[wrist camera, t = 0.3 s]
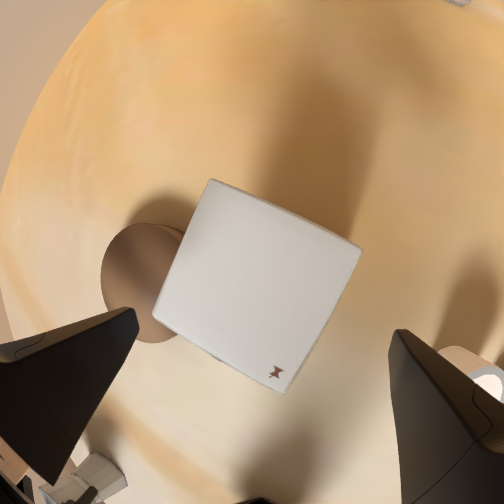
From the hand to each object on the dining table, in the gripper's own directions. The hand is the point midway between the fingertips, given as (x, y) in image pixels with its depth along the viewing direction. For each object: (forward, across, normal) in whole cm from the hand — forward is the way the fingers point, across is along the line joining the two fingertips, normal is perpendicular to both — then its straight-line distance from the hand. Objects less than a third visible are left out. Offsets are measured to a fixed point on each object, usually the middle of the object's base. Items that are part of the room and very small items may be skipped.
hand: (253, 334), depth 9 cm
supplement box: (+15, 0, +4) cm, 15 cm away
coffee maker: (+4, +27, +39) cm, 48 cm away
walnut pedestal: (+14, +13, +6) cm, 20 cm away
